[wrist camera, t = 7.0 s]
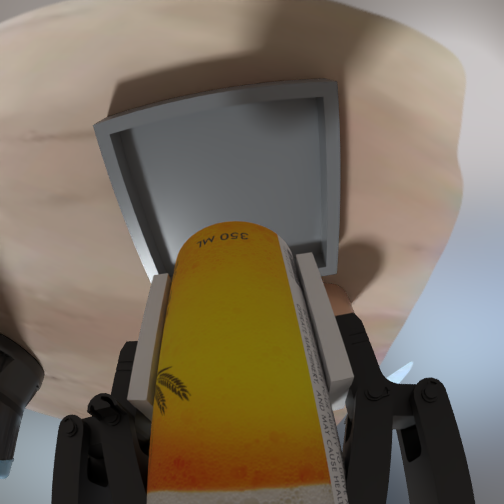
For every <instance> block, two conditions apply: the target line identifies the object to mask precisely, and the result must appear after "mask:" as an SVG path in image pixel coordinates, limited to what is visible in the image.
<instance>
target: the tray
mask: <svg viewBox="0 0 504 504" xmlns="http://www.w3.org/2000/svg"><path fill="white" fill-rule="evenodd" d="M93 127H94V130H95V134H96V137H97V141H98V144H99V147H100V151H101V154H102V157H103V160H104V163H105V166H106V169H107V172H108V175H109V178H110V181H111V184H112V187H113V190H114V193H115V195H116V198H117V201H118V204H119V206H120V209H121V212H122V214H123V217H124V220H125V222H126V225H127V227H128V230H129V232H130V235H131V237H132V240H133V242H134V245H135V247H136V250H137V252H138V254H139V257H140V259H141V261H142V264H143V266H144V268H145V271H146V273H147V275H148V277H149V280H150V282H151V283H152V280H153V276H154V275H159V274H166V273H168V274H169V277H170V279H171V282H172V279H173V274H174V269H175V264H176V259H177V256H178V253H179V251H180V249H181V247H182V246H183V244H184V243H185V242H186V241H187V240H188V239H189V238H190V237H191V236H192V235H193V234H195V233H196V232H198V231H199V230H201V229H203V228H205V227H207V226H210V225H213V224H216V223H220V222H227V221H245V222H251V223H255V224H259V225H261V226H264V227H266V228H268V229H270V230H272V231H273V232H275V233H276V234H278V235H279V236H280V237H281V238H282V239H283V240H284V241H285V242H286V244H287V245H288V247H289V248H290V250H291V253H292V256H293V259H294V263H295V266H296V270H297V265H296V255H297V254H304V253H310V252H312V254H313V256H314V259H315V262H316V264H317V267H318V270H319V273H320V275H321V276H326V275H332V274H337V263H338V245H339V222H340V126H339V103H338V87H337V81H333V80H329V79H325V78H323V79H302V80H288V81H276V82H266V83H257V84H249V85H242V86H235V87H229V88H222V89H217V90H211V91H205V92H200V93H195V94H190V95H186V96H181V97H177V98H172V99H168V100H164V101H160V102H156V103H152V104H149V105H145V106H141V107H138V108H134V109H131V110H128V111H124V112H121V113H118V114H115V115H112V116H109V117H106V118H104V119H103V120H101V121H99V122H98V123H96V124H94V125H93Z"/></svg>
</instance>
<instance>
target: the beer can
mask: <svg viewBox="0 0 504 504" xmlns="http://www.w3.org/2000/svg"><path fill="white" fill-rule="evenodd" d="M147 504H348V498H347V493H346V470H345V465H344V460H343V455H342V451H341V446H340V441H339V437H338V432H337V427H336V423H335V418H334V414H333V410H332V405H331V401H330V397H329V393H328V388H327V384H326V380H325V376H324V372H323V368H322V364H321V360H320V356H319V352H318V348H317V344H316V340H315V336H314V332H313V329H312V325H311V321H310V317H309V313H308V310H307V306H306V302H305V299H304V295H303V291H302V288H301V284H300V280H299V277H298V273H297V270H296V266H295V263H294V259H293V256H292V253H291V250H290V248H289V247H288V245H287V244H286V242H285V241H284V240H283V239H282V238H281V237H280V236H279V235H278V234H276V233H275V232H273V231H272V230H270V229H268V228H266V227H264V226H261V225H259V224H255V223H251V222H245V221H227V222H220V223H216V224H213V225H210V226H207V227H205V228H203V229H201V230H199V231H198V232H196V233H195V234H193V235H192V236H191V237H190V238H189V239H188V240H187V241H186V242H185V243H184V244H183V246H182V247H181V249H180V251H179V253H178V256H177V259H176V264H175V269H174V274H173V279H172V284H171V290H170V295H169V301H168V306H167V312H166V318H165V324H164V330H163V337H162V343H161V350H160V357H159V364H158V372H157V379H156V388H155V396H154V405H153V415H152V425H151V436H150V449H149V463H148V481H147Z"/></svg>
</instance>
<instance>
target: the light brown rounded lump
mask: <svg viewBox="0 0 504 504" xmlns="http://www.w3.org/2000/svg"><path fill="white" fill-rule="evenodd" d="M323 284H324V287H325V289H326V292H327V295H328V298H329V301H330V304H331V307H332V310H333V313H334V316H337V315H342V314H347V313H354V310H353V308H352V305H351V303H350V301H349V298H348V296H347V293H346V292H345V290H344V289H343V288H341V287H340V286H337V285H335V284H329V283H323ZM354 314H355V313H354Z"/></svg>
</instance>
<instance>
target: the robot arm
mask: <svg viewBox="0 0 504 504" xmlns="http://www.w3.org/2000/svg"><path fill="white" fill-rule="evenodd" d="M296 265H297V273H298V277H299V280H300V284H301V288H302V291H303V295H304V299H305V302H306V306H307V310H308V313H309V317H310V321H311V325H312V329H313V332H314V336H315V340H316V344H317V348H318V352H319V356H320V360H321V364H322V368H323V372H324V376H325V380H326V384H327V388H328V393H329V397H330V401H331V405H332V410H333V411H334V410H338V409H343V408H344V406H345V404H346V408H347V412H348V414H347V417H346V419H345V422H344V424H346V427H345V436H344V444H343V452H342V455H343V460H344V465H345V470H346V493H347V498H348V504H386V498H387V491H388V483H389V473H390V462H391V448H392V429H396V431H397V435H398V440H399V445H400V450H401V455H402V460H403V465H404V471H405V476H406V482H407V488H408V495H409V501H410V504H475V500H474V494H473V489H472V483H471V479H470V474H469V469H468V465H467V461H466V456H465V452H464V448H463V445H462V441H461V438H460V434H459V430H458V426H457V423H456V420H455V416H454V413H453V410H452V407H451V404H450V401H449V398H448V395H447V392H446V389H445V387H444V385H443V384H442V383H441V382H440V381H439V380H437V379H434V378H424V379H422V380H421V381H419V382H418V383H417V384H397V383H393V382H391V381H389V380H388V379H386V378H385V377H384V376H383V374H382V372H381V370H380V368H379V365H378V362H377V359H376V357H375V354H374V351H373V349H372V346H371V343H370V342H369V338H368V336H367V333H366V331H365V328H364V325H363V323H362V321H361V320H360V319H359V318H358V317H357V316H356V315H355V314H354V313H347V314H342V315H337V316H334V313H333V310H332V307H331V304H330V301H329V298H328V295H327V292H326V289H325V287H324V284H323V281H322V278H321V275H320V273H319V270H318V267H317V264H316V262H315V259H314V256H313V254H312V252H310V253H304V254H297V255H296ZM171 284H172V282H171V279H170V277H169V274H168V273H166V274H159V275H154V276H153V280H152V283H151V287H150V291H149V295H148V299H147V303H146V308H145V312H144V316H143V321H142V325H141V329H140V334H139V339H138V341H129V342H126V343H125V345H124V346H123V348H122V349H121V351H120V355H119V359H118V364H117V368H116V373H115V377H114V382H113V387H112V392H111V395H110V394H107V393H101V394H98V395H96V396H95V397H94V398H93V399H91V401H90V403H89V405H88V410H87V412H88V413H89V414H91V415H92V417H88V418H84V419H81V418H79V417H78V416H76V415H68V416H66V417H65V418H63V420H62V421H61V422H60V425H59V430H58V437H57V444H56V452H55V460H54V470H53V483H52V502H51V503H52V504H147V481H148V463H149V449H150V436H151V424H152V415H153V405H154V396H155V388H156V379H157V372H158V364H159V357H160V350H161V343H162V337H163V330H164V324H165V318H166V312H167V306H168V301H169V295H170V290H171ZM43 379H44V372H43V370H42V368H41V366H40V365H39V364H38V363H37V361H36V360H35V359H34V358H33V357H32V356H31V355H30V354H29V353H27V352H26V351H25V350H24V349H23V348H21V347H20V346H19V345H17V344H16V343H14V342H13V341H11V340H10V339H8V338H6V337H5V336H3V335H1V334H0V479H5V478H7V477H8V476H9V473H10V469H11V465H12V462H13V461H14V458H13V456H14V451H15V446H16V441H17V436H18V432H19V427H20V423H21V419H22V416H23V412H24V409H25V407H26V406H27V405H28V403H29V402H30V401H31V399H32V398H33V397H34V395H35V394H36V392H37V391H38V390H39V389H40V387H41V385H42V382H43Z"/></svg>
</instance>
